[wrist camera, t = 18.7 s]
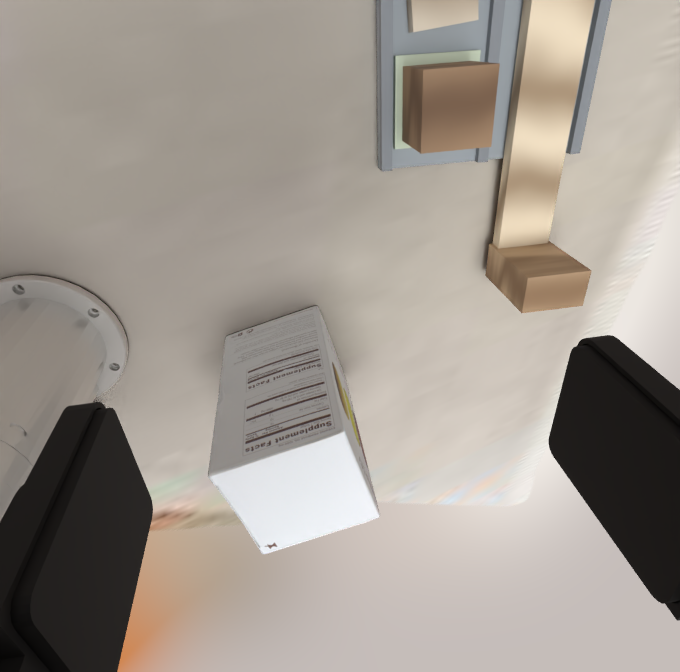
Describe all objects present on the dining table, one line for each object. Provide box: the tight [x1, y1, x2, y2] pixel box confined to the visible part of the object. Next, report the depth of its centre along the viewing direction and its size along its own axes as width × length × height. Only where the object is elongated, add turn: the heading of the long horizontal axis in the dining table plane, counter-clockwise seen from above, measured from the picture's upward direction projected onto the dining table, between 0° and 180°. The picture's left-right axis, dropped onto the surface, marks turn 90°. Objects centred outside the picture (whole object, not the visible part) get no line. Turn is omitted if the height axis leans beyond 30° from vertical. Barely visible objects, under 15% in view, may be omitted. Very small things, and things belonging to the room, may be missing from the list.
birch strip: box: [485, 0, 595, 313], centre depth 33 cm, size 25×5×7 cm, turn 3°
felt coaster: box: [393, 50, 481, 149], centre depth 34 cm, size 6×6×1 cm
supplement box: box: [208, 306, 380, 554], centre depth 38 cm, size 10×9×17 cm
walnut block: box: [402, 61, 500, 154], centre depth 32 cm, size 5×5×5 cm
